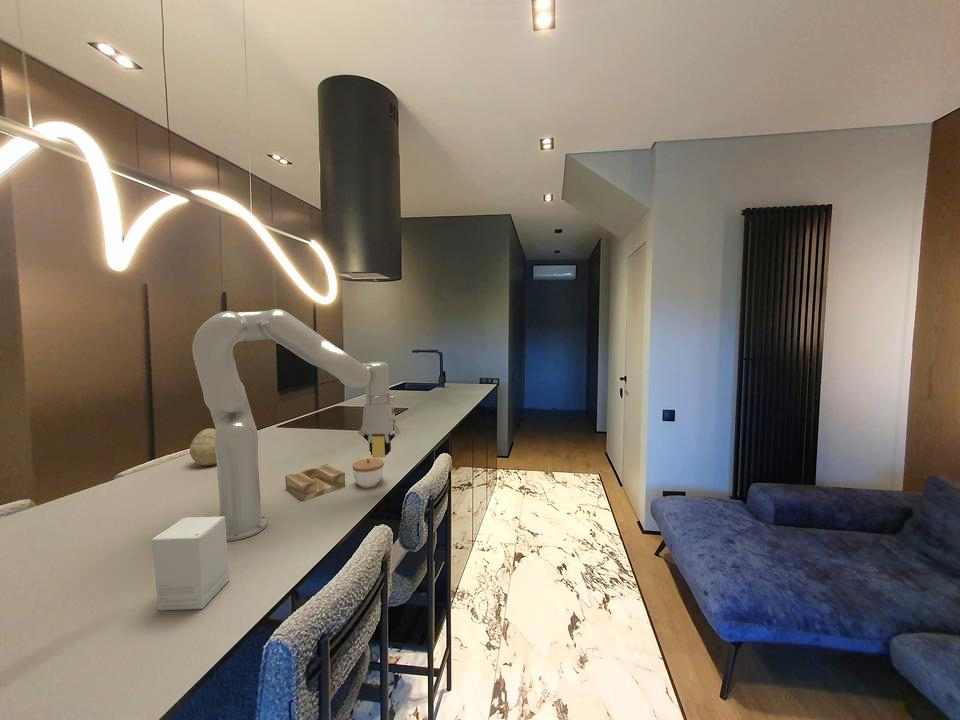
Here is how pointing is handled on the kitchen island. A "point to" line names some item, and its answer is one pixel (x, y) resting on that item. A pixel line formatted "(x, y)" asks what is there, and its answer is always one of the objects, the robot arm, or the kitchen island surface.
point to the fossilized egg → (204, 448)
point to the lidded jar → (368, 472)
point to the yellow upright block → (378, 445)
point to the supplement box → (190, 562)
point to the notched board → (314, 481)
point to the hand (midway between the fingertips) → (380, 453)
